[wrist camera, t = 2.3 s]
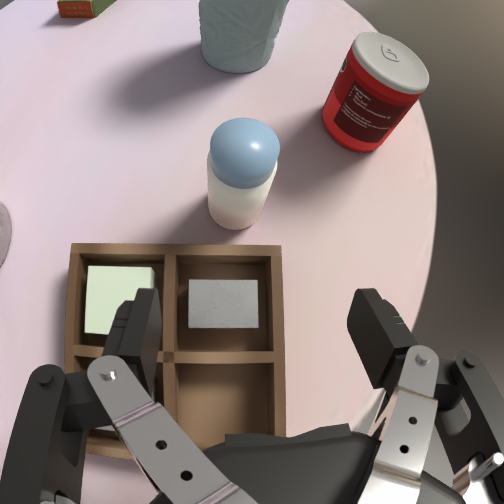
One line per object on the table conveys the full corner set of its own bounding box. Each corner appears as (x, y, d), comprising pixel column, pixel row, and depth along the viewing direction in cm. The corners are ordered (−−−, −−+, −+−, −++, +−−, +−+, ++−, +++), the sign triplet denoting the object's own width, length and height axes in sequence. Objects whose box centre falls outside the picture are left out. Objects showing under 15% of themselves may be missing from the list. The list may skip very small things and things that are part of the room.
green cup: (189, 74, 32) (187, -12, 21) (201, 28, 35) (204, -45, 24) (277, 81, 34) (299, -2, 22) (276, 34, 36) (293, -37, 25)
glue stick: (207, 229, 28) (205, 176, 19) (209, 180, 29) (209, 114, 20) (262, 230, 28) (285, 178, 19) (261, 181, 30) (280, 117, 20)
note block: (98, 333, 24) (84, 332, 21) (101, 274, 25) (88, 265, 22) (156, 337, 24) (148, 336, 21) (157, 275, 26) (150, 267, 23)
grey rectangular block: (190, 328, 25) (188, 327, 22) (191, 285, 26) (189, 279, 23) (254, 328, 25) (258, 327, 23) (253, 285, 26) (257, 280, 24)
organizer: (86, 438, 21) (71, 449, 18) (86, 254, 26) (71, 243, 22) (277, 446, 23) (286, 460, 20) (272, 257, 28) (281, 245, 24)
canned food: (364, 98, 35) (401, 35, 24) (393, 151, 33) (444, 92, 22) (309, 101, 33) (338, 27, 23) (337, 158, 31) (382, 88, 21)
